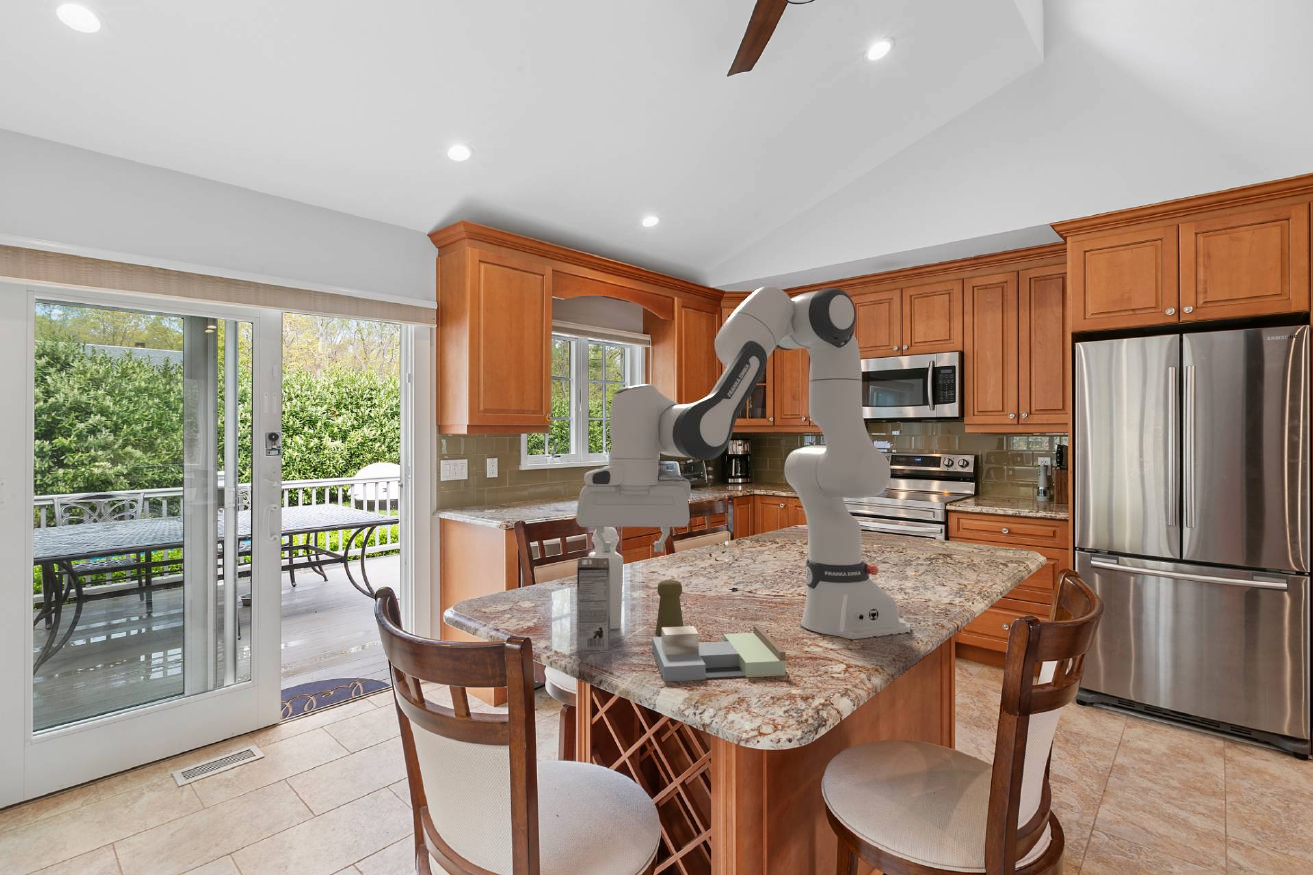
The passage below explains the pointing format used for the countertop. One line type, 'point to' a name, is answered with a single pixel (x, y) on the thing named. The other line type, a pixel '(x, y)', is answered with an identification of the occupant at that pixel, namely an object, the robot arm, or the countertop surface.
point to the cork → (669, 605)
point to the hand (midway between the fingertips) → (632, 551)
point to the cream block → (680, 640)
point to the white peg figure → (611, 572)
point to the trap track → (724, 658)
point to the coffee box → (593, 603)
